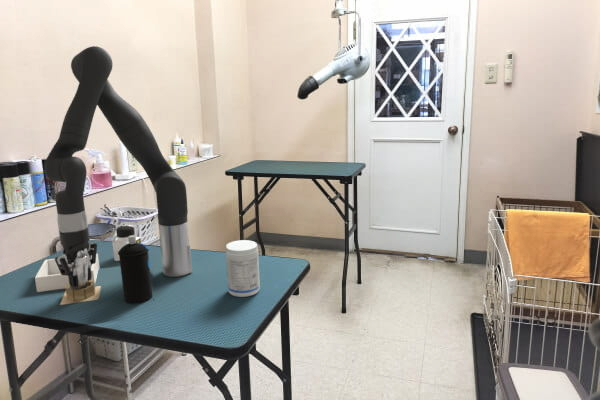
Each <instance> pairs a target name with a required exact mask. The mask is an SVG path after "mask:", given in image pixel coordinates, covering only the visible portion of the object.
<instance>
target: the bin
mask: <svg viewBox="0 0 600 400" xmlns="http://www.w3.org/2000/svg"><path fill="white" fill-rule="evenodd" d="M91 259H92V255H91ZM99 260H100V259H99V254H98V253H96V262H95V264H92V267H91V274H92V277H91V280H90V281H94V283H95V284H96V282H97V276H98V273H99V270H100V268H101V267H100V261H99ZM34 280H35V288H36V292H37V293H41V292H48V291H56V290H62V289H63V290H64V289H66V287H67V285H69V278H68V276H65V275H61V273H60V271H59V268H58V266H57V264H56V262H55V258H49V259H45V260H44V261H43V263H42V265H41V266H40V268H39V270H38V272H37V273H36V275H35V277H34Z"/></svg>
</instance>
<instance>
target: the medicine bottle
mask: <svg viewBox="0 0 600 400" xmlns="http://www.w3.org/2000/svg"><path fill="white" fill-rule="evenodd" d="M115 232H116V238H117V239H116V240H114V241H112V243H111V244H112V251H113V259H114V261H116V262H120V258H119V255H118V252H119V250H120V249H121V248H122V247H123V246H125V245H126V244H128V243H129V240H128V237H129V236H131V235H135V236H136V234H135V232H136V231H135V226H134V225H132V224H124V225H120V226H118V227H116V231H115ZM136 242H137V243H141V244H142V240H141V237H140V236H136Z"/></svg>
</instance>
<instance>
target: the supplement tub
mask: <svg viewBox="0 0 600 400" xmlns="http://www.w3.org/2000/svg"><path fill="white" fill-rule="evenodd" d="M259 259H260V258H259V247H258V243H257V242H255V241H253V240H249V239H241V240H238V239H237V240H234V241H233V240H232V241H231V242H228V243H227V244H226V245H225V263H226V264H225V265H226V277H227V290H228V293H229V294H230V295H231V296H233V297H238V298H245V297H246V298H247V297H250V296H254V295H256V294H257V293H258V292H260V289H261V286H260V285H261V284H260V265H259V264H260V263H259V262H260V260H259Z"/></svg>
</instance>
